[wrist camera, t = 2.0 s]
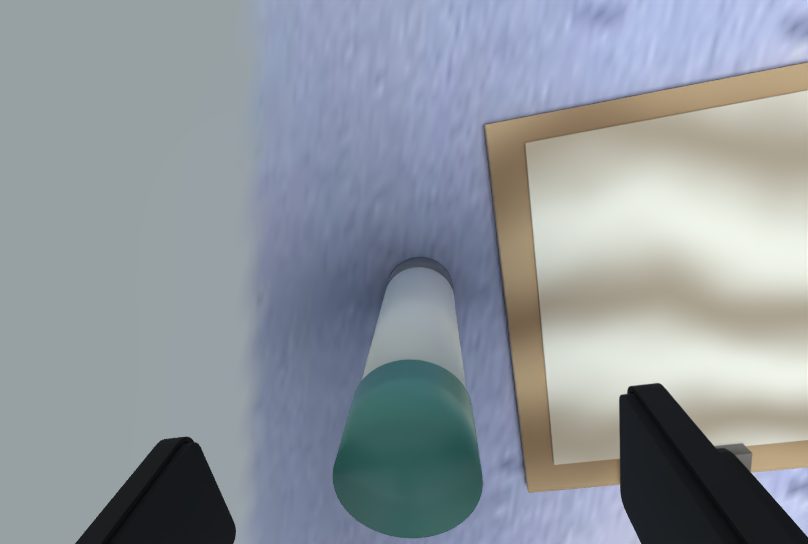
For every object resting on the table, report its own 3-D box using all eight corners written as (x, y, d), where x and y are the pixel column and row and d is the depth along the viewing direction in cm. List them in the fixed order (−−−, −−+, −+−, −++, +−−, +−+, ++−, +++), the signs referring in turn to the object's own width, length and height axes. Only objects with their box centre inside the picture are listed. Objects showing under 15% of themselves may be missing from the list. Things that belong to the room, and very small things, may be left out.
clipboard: (829, 455, 23) (856, 477, 21) (526, 484, 25) (532, 506, 23) (900, 44, 16) (944, 37, 15) (483, 124, 18) (488, 124, 17)
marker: (459, 314, 21) (490, 532, 10) (392, 323, 22) (351, 543, 10) (448, 249, 20) (471, 412, 9) (379, 261, 21) (316, 430, 9)
